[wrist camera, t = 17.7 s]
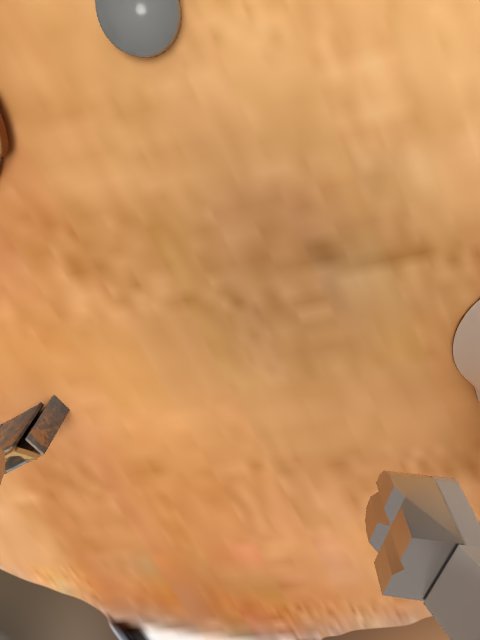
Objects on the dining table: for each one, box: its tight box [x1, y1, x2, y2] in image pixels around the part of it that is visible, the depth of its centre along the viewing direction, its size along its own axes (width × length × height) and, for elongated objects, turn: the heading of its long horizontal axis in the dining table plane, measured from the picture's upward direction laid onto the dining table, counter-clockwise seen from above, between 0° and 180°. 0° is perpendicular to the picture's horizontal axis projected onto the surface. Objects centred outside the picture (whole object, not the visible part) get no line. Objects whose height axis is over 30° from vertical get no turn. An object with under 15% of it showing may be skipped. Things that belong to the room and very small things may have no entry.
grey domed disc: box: [95, 0, 182, 58], centre depth 33 cm, size 6×6×2 cm
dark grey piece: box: [0, 395, 69, 474], centre depth 50 cm, size 11×3×10 cm, turn 122°
